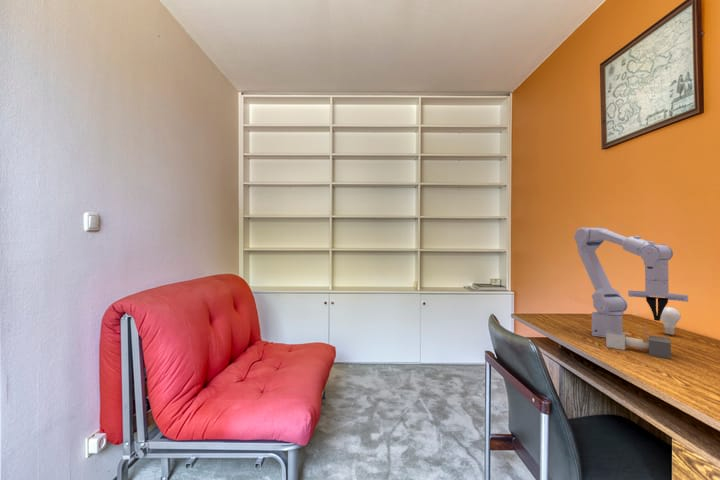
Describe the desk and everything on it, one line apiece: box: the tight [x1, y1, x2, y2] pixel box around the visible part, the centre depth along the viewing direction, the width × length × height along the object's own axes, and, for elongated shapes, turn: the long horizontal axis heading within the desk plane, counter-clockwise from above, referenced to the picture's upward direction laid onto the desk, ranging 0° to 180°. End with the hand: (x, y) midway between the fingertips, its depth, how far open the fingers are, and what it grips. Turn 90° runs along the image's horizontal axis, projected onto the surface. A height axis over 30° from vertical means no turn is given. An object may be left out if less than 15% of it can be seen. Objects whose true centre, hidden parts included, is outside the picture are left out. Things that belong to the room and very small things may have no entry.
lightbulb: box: [660, 306, 682, 336], centre depth 122 cm, size 6×6×11 cm
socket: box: [648, 334, 672, 360], centre depth 101 cm, size 5×7×5 cm
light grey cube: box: [605, 330, 627, 351], centre depth 109 cm, size 5×5×5 cm
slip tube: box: [625, 325, 649, 351], centre depth 104 cm, size 11×3×8 cm, turn 47°
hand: (657, 320), depth 105 cm, fingers closed
